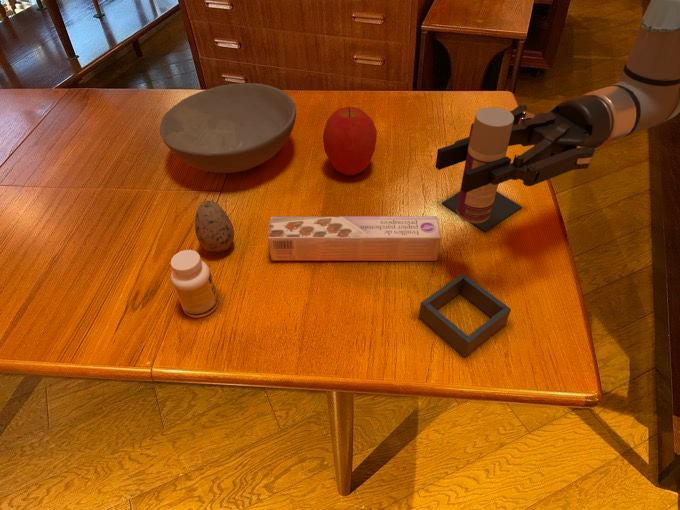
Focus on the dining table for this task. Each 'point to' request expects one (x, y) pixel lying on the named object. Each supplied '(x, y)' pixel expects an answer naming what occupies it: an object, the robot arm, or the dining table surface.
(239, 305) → the dining table surface
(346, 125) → the apple
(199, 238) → the decorative egg
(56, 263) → the dining table surface
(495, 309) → the open box
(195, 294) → the supplement bottle
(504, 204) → the coaster
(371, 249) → the box
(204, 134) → the bowl
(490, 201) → the container
